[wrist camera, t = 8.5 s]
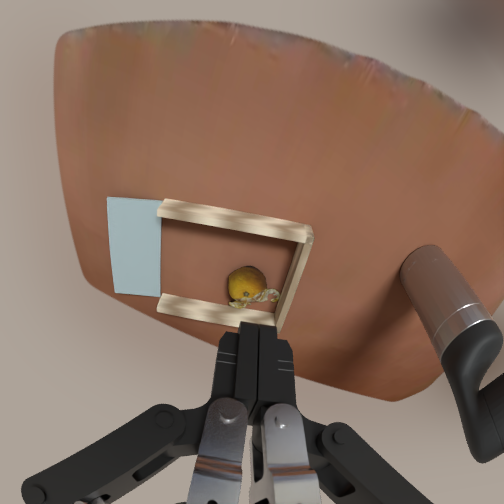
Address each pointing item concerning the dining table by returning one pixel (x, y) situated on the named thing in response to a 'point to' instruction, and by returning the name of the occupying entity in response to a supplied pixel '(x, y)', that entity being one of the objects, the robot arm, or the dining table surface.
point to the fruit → (249, 287)
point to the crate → (245, 224)
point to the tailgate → (135, 245)
